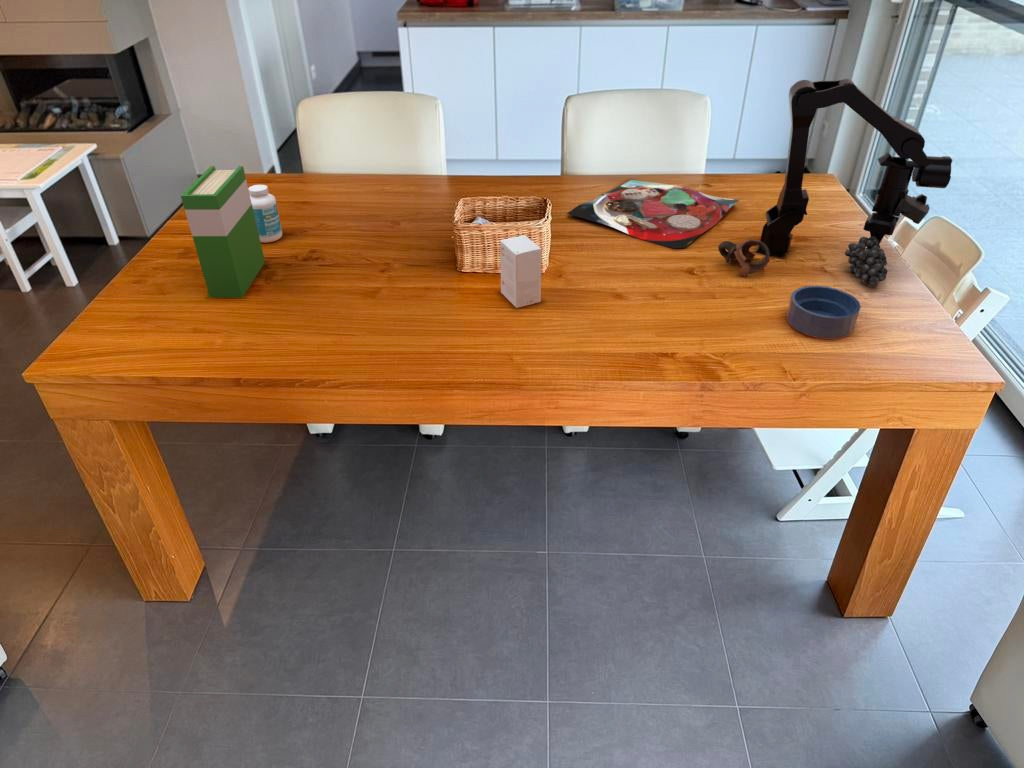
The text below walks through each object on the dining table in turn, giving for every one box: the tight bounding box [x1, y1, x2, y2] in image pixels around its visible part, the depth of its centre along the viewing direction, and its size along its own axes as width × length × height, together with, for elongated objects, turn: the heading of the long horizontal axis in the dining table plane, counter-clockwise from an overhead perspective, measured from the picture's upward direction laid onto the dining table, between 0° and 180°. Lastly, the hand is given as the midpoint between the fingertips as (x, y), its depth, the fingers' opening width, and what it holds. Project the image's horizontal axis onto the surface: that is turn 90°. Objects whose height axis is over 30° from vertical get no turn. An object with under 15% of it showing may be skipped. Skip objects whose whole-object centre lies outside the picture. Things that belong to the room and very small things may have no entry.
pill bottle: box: [248, 184, 283, 244], centre depth 188 cm, size 8×7×14 cm
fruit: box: [844, 235, 889, 289], centre depth 169 cm, size 9×8×15 cm
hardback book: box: [180, 165, 266, 299], centre depth 166 cm, size 18×7×24 cm, turn 179°
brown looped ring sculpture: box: [717, 238, 771, 277], centre depth 174 cm, size 12×10×8 cm
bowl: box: [786, 285, 862, 340], centre depth 153 cm, size 13×13×6 cm
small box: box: [499, 234, 543, 309], centre depth 161 cm, size 8×6×13 cm
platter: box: [566, 179, 740, 250], centre depth 202 cm, size 35×35×2 cm
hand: (875, 247), depth 177 cm, fingers closed
